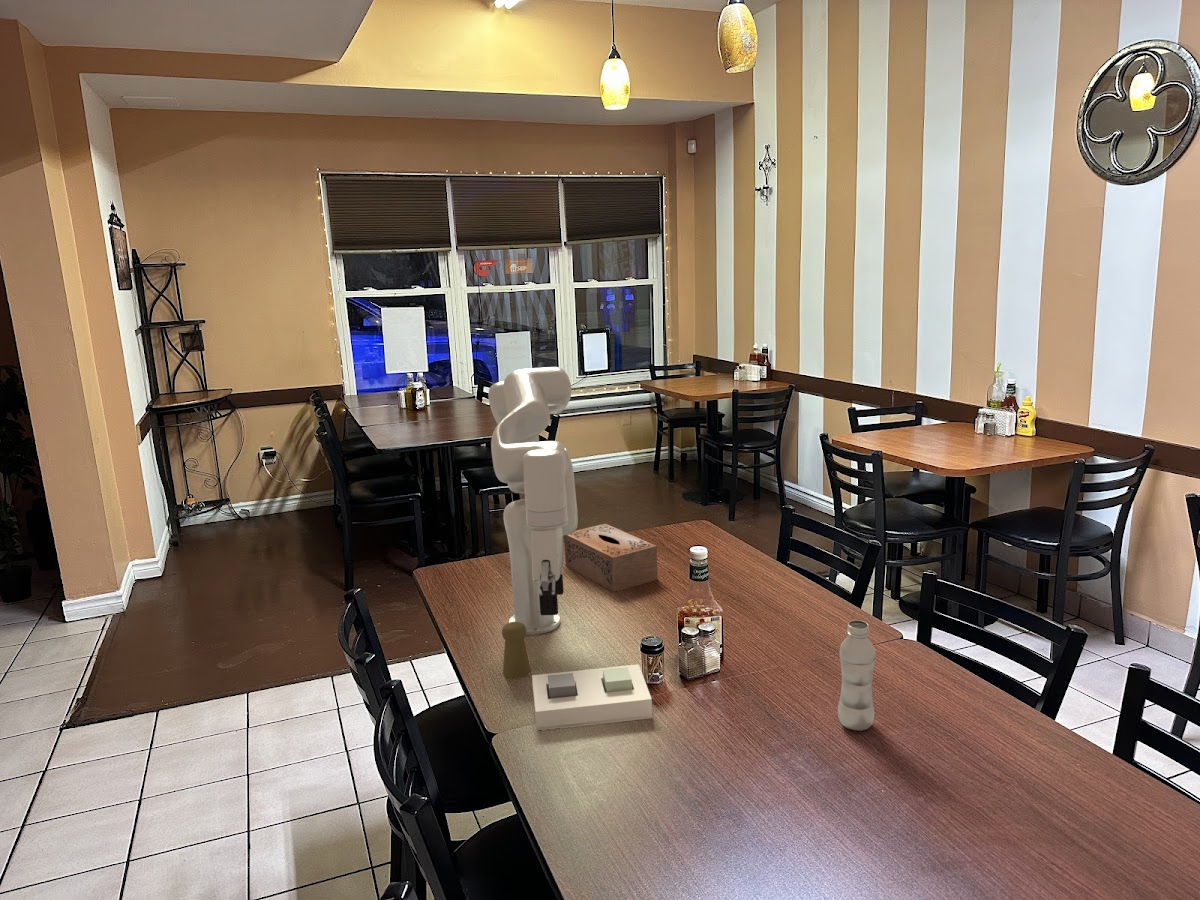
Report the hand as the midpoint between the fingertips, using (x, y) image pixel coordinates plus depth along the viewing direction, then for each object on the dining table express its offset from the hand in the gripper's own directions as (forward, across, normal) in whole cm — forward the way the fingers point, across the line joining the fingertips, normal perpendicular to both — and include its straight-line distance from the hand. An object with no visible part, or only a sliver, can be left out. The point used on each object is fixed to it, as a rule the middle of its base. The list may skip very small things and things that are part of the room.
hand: (552, 604), depth 150 cm
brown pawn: (+23, -18, -11) cm, 31 cm away
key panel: (+23, -3, +6) cm, 24 cm away
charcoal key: (+20, -2, 0) cm, 20 cm away
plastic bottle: (+23, +5, +55) cm, 60 cm away
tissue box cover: (+22, -75, +7) cm, 78 cm away
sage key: (+20, -4, +11) cm, 23 cm away
